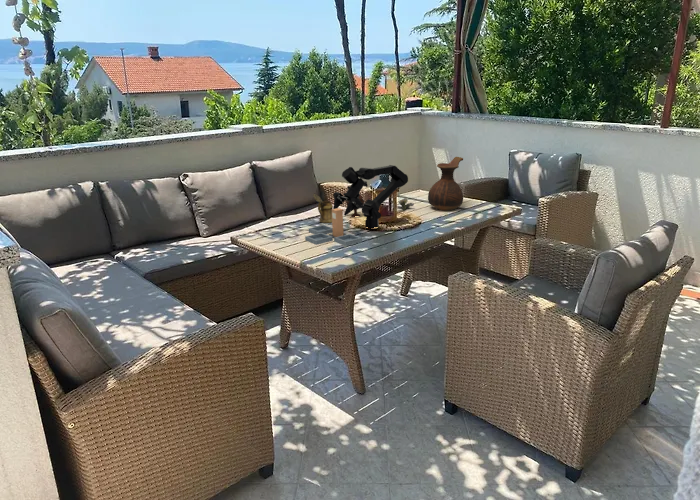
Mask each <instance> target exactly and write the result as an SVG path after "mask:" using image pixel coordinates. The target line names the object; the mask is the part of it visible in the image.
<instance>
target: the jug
mask: <svg viewBox="0 0 700 500" xmlns="http://www.w3.org/2000/svg"><path fill="white" fill-rule="evenodd" d="M463 160H464V157H459V156H455V157H453V158H452V160H451V161H450V162H447V163H446V162H445V163H444V162H442V163H441V162H440V163H438V164H436V166H437V168H438V169H440V171H441V176H440V179H439V180H437V181H435V183H433V185H432V186H431V187H430V188H429V191H428V193H427V199H428V200H427V202H428V203H429V205H430V206H431V207H433V208H435V210H438V209H439V211H444V212H445V211H446V212H447V211H448V210H449V211H454V210H456V209H457V208H459V207H460V206H462V204H463V202H464V194H463V190H462V189H461V187H460V184H458V183H457V182H456V181H455V179H454V172H455V170H456V169H458V168H459V164H460V162H461V161H463ZM449 211H448V212H449Z"/></svg>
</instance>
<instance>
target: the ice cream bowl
mask: <svg viewBox="0 0 700 500" xmlns="http://www.w3.org/2000/svg"><path fill="white" fill-rule="evenodd" d="M359 194H360V196H359V199H360V200H361V202H362V203H363V204H364V203H365V199H364V198H363V196H362V195H361V193H359ZM348 203H349V202H348V201H345V204H346V207H347V206H348ZM360 209H361V208H359V209H354V210H353V213H352V214H351V215H350V218H356V217H355V216H360V217H361V214H359V213H358V210H360Z"/></svg>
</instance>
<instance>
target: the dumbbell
mask: <svg viewBox="0 0 700 500" xmlns="http://www.w3.org/2000/svg"><path fill="white" fill-rule="evenodd" d="M397 202H398V204H399V205H400V206H401V209H402V210H401V209H397V211H398V212H404V211H405V210H406V209H408V208H407V207H409V208H411V207H414V205H415V203H414V202H408V198H407V197H404V198H403V199H401V200H397Z"/></svg>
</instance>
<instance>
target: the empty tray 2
mask: <svg viewBox="0 0 700 500" xmlns="http://www.w3.org/2000/svg"><path fill="white" fill-rule="evenodd" d="M346 234H347V233H346ZM333 242H334V243H337V244H339V245H342V246H345V247H348V246H351V245H355V244H359V243H362V242H363V238H362V237H361V236H358V235H354V234H352V233H348V234H347V235H343V236H339V237H335V238H334V239H333Z"/></svg>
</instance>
